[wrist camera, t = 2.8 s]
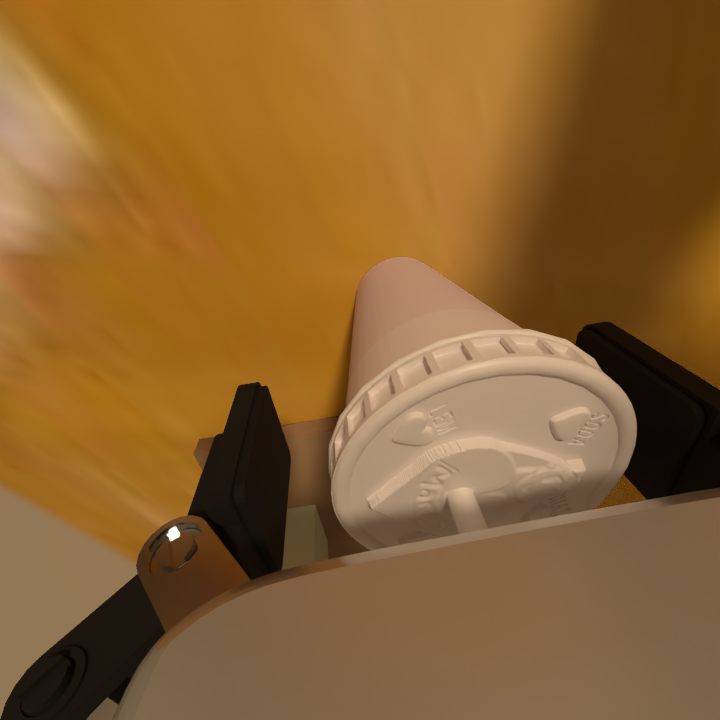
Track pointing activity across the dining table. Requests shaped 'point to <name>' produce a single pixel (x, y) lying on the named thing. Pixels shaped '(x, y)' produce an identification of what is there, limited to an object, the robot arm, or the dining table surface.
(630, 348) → the robot arm
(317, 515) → the tea box
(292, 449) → the shelf board
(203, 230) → the dining table surface
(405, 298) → the smoothie
